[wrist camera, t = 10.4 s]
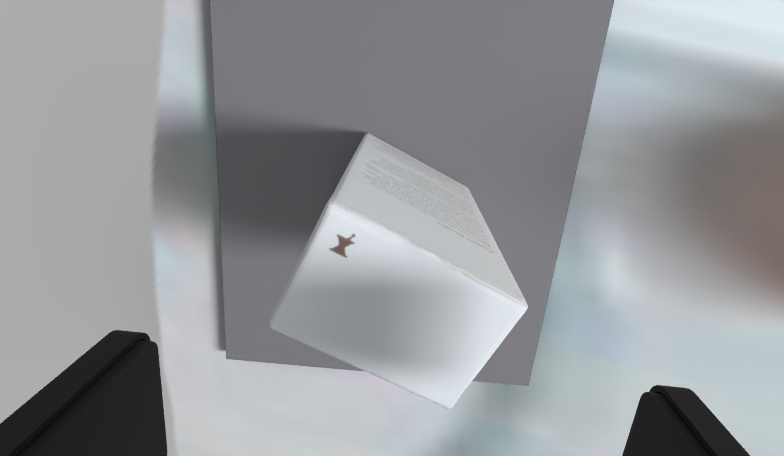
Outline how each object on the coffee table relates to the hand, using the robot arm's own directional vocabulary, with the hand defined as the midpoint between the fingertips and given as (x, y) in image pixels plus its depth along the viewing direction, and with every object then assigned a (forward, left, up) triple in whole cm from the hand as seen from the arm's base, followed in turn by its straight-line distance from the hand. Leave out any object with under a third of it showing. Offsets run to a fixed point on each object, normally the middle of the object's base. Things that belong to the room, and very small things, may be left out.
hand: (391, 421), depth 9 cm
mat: (0, 0, -16) cm, 16 cm away
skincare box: (0, 0, -16) cm, 16 cm away
